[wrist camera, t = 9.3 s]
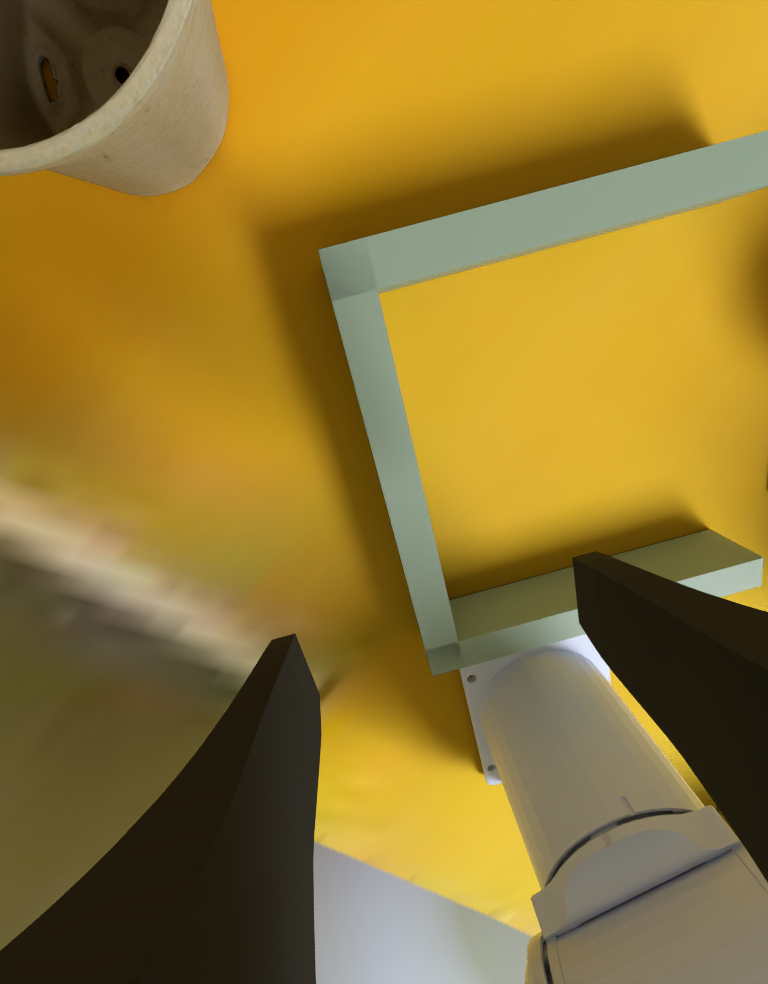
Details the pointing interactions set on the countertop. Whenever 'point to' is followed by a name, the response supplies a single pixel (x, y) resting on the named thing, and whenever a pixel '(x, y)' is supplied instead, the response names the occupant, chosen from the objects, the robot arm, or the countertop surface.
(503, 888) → the countertop surface
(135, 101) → the flower pot
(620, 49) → the countertop surface
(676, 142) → the countertop surface
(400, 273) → the green u-shaped frame
